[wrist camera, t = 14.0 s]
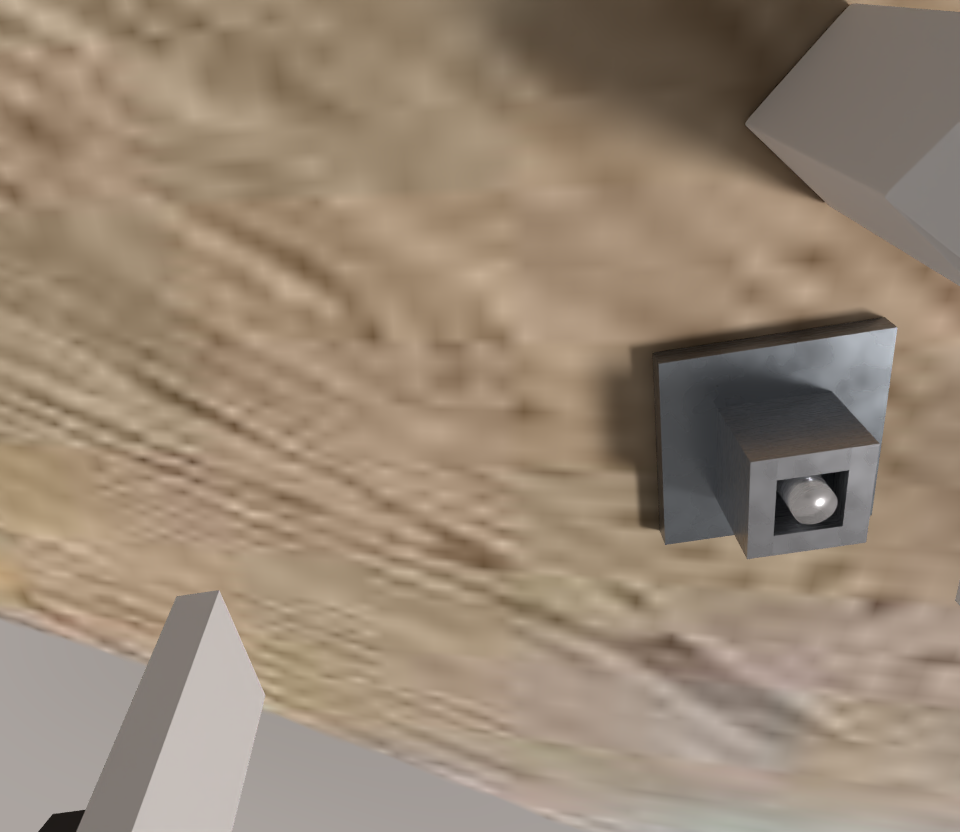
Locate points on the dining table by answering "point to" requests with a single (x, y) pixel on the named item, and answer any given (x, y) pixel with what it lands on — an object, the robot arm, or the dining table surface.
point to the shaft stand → (754, 378)
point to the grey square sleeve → (793, 471)
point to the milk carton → (879, 126)
